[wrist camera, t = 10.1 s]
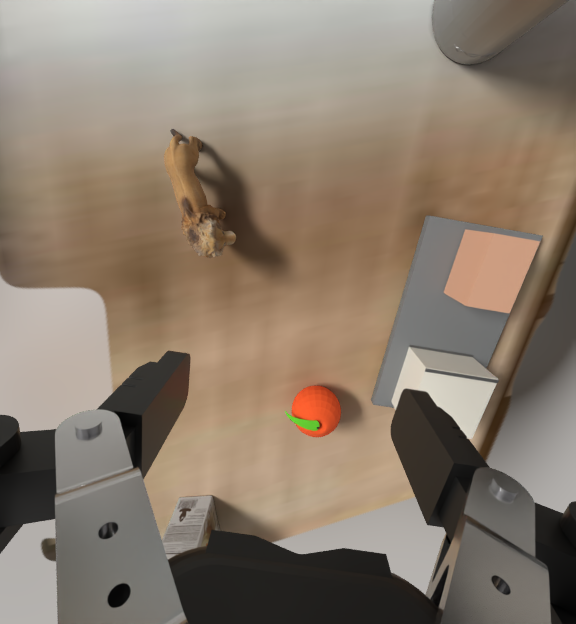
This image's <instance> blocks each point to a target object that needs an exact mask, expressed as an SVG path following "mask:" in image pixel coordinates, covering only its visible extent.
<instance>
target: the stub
mask: <svg viewBox="0 0 576 624" xmlns="http://www.w3.org/2000/svg"><path fill="white" fill-rule="evenodd" d="M539 243H540V241H535V240H529V239H524V238H518V237H512V236H507V235H501V234H495V233H488V232H481V231H474V230H466V229H465V231H464V234H463V237H462V240H461V243H460V246H459V249H458V252H457V255H456V258H455V261H454V263H453V266H452V269H451V272H450V275H449V278H448V281H447V284H446V287H445V290H444V293H445V294H446V295H448V296H450V297H451V298H453V299H455V300H457V301H458V302H460V303H462V304H463V305H465V306H468V307H474V308H480V309H486V310H492V311H498V312H504V313H510V311H511V309H512V307H513V304H514V302H515V300H516V297H517V295H518V293H519V290H520V288H521V286H522V283H523V281H524V278H525V276H526V274H527V271H528V269H529V267H530V264H531V262H532V260H533V257H534V255H535V253H536V250H537V248H538V246H539Z"/></svg>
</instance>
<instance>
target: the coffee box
mask: <svg viewBox="0 0 576 624" xmlns="http://www.w3.org/2000/svg"><path fill="white" fill-rule="evenodd" d="M211 530H217V531H220V529H219V524H218V519H217V514H216V510H215V505H214V500H213V496H195V497H180V498H179V500H178V502H177V505H176V507H175V510H174V512H173V514H172V517H171V519H170V522H169V524H168V527H167V529H166V531H165V534H164V536H163V539H162V543H163V546H164V550H165V553H166V556H167V559H170V558H172V557H173V556H175V555H177V554H180V553H182V552H184V551H187V550H190V549H194V548H197V547H202V546H207V545H208V541H209V537H210V534H211Z"/></svg>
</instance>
